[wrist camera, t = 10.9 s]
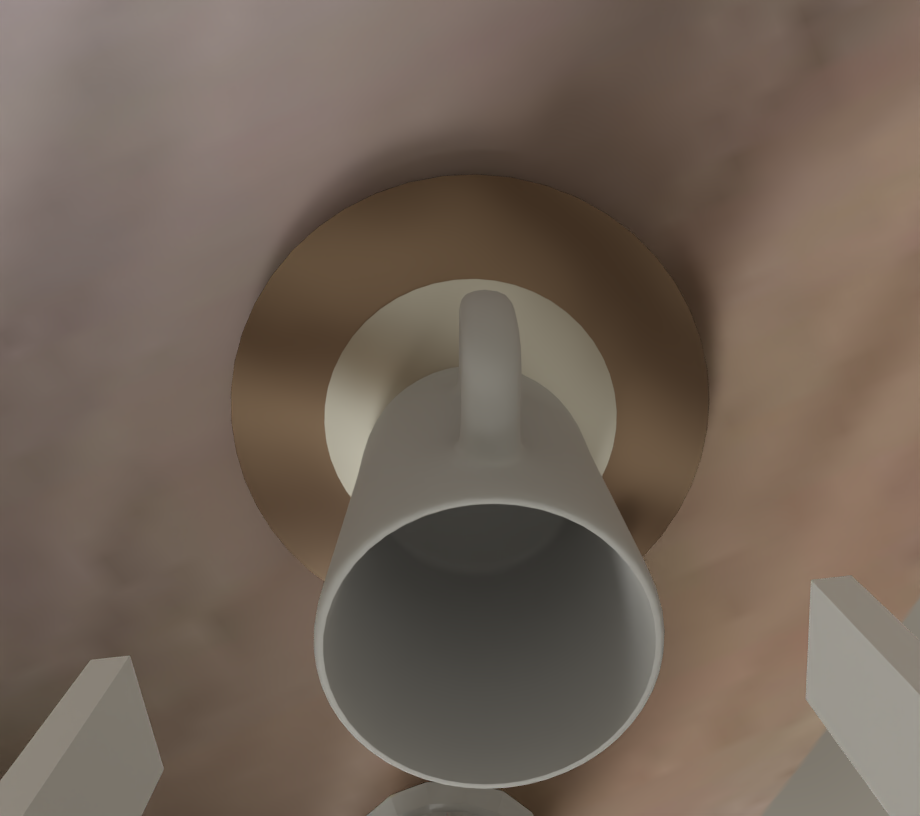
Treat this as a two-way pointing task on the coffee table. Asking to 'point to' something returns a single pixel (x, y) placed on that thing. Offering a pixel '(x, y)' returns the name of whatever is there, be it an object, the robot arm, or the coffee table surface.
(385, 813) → the french press
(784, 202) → the coffee table surface
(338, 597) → the mug
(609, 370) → the ring
